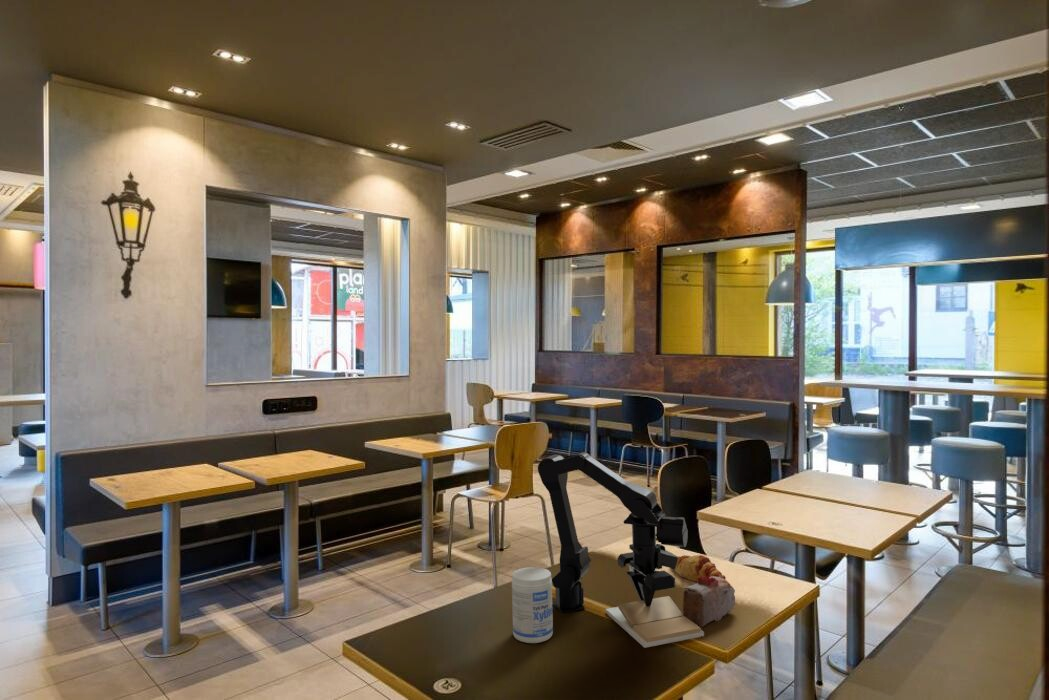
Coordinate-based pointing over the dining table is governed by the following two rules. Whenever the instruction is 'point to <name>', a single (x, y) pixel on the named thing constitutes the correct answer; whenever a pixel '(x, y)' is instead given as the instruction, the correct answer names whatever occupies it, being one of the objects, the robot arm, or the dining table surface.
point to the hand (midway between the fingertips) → (646, 604)
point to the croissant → (696, 567)
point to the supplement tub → (532, 604)
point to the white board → (658, 629)
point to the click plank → (649, 611)
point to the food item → (708, 600)
